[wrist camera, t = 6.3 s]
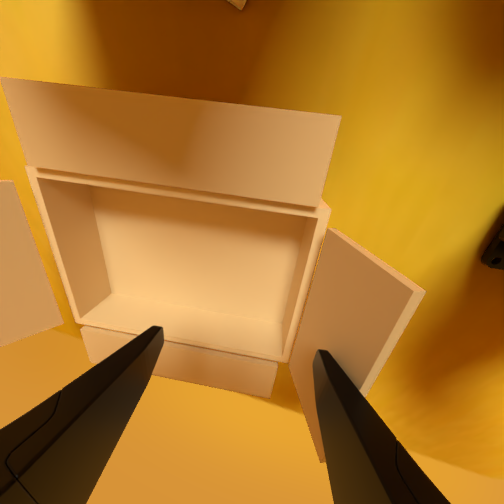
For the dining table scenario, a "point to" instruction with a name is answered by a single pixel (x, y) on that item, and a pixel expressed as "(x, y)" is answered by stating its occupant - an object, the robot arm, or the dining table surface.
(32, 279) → the flap
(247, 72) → the dining table surface
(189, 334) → the carton
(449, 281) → the dining table surface
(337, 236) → the flap
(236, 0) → the tea box
